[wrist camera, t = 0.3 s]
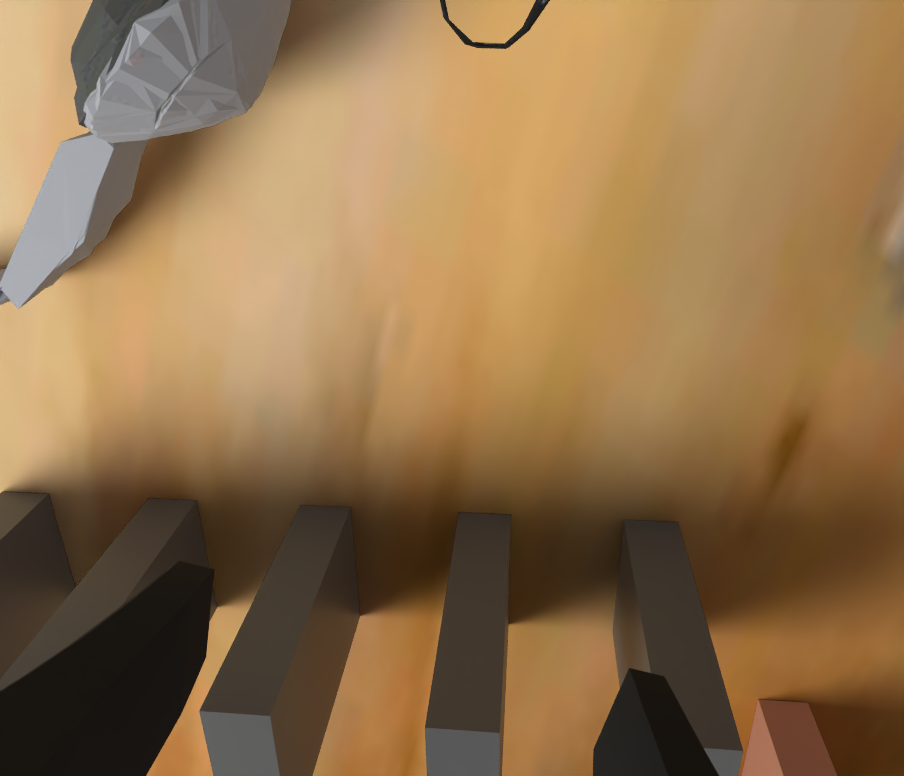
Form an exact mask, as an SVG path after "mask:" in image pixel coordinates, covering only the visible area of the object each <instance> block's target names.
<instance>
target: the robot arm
mask: <svg viewBox="0 0 904 776" xmlns="http://www.w3.org/2000/svg"><path fill="white" fill-rule="evenodd" d="M213 578H214V569H212V568H207V567H203V566H199V565H195V564H191V563H186V562H182V561H178V562H176V563H175V564H173V565H171V566H170V567H169V568H168V569H167V570H165V571H164V572H163V573H162V574H161V575H159V576H158V577H157V578H156V579H154V580H153V581H152V582H151V583H150V584H148V585H147V586H146V587H145V588H143V589H142V590H141V591H140V592H138V593H137V594H136V595H135V596H134V597H132V598H131V599H130V600H128V601H127V602H126V603H125V604H123V605H122V606H121V607H119V608H118V609H117V610H116V611H114V612H113V613H112V614H110V615H109V616H108V617H106V618H105V619H104V620H102V621H101V622H100V623H98V624H97V625H96V626H94V627H93V628H92V629H90V630H89V631H88V632H86V633H85V634H84V635H82V636H81V637H80V638H78V639H77V640H75V641H74V642H73V643H71V644H70V645H68V646H67V647H66V648H64V649H63V650H61V651H60V652H58V653H57V654H55V655H54V656H52V657H51V658H49V659H48V660H46V661H45V662H43V663H42V664H40V665H39V666H37V667H36V668H34V669H33V670H31V671H30V672H28V673H27V674H26V675H24V676H22V677H21V678H19V679H18V680H16V681H15V682H13V683H11V684H10V685H8V686H7V687H5V688H3V689H2V690H0V776H146V775H147V773H148V771H149V769H150V768H151V766H152V764H153V763H154V761H155V759H156V757H157V756H158V754H159V752H160V750H161V749H162V747H163V745H164V743H165V742H166V740H167V738H168V736H169V735H170V733H171V731H172V729H173V728H174V726H175V724H176V722H177V720H178V719H179V717H180V715H181V713H182V711H183V709H184V706H185V704H186V702H187V700H188V697H189V695H190V693H191V691H192V688H193V686H194V684H195V681H196V679H197V677H198V674H199V672H200V670H201V667H202V665H203V663H204V660H205V658H206V651H207V641H208V630H209V620H210V609H211V599H212V588H213ZM593 776H719V774H718V773H717V771H716V769H715V767H714V766H713V764H712V762H711V760H710V759H709V757H708V755H707V753H706V752H705V750H704V748H703V746H702V744H701V742H700V741H699V739H698V737H697V735H696V733H695V732H694V730H693V728H692V726H691V724H690V722H689V721H688V719H687V717H686V715H685V713H684V711H683V709H682V707H681V706H680V704H679V702H678V700H677V698H676V696H675V694H674V693H673V691H672V689H671V687H670V685H669V684H668V682H667V680H666V678H665V677H664V676H661V675H657V674H653V673H649V672H645V671H640V670H636V669H632V668H629V669H628V671H627V674H626V676H625V678H624V681H623V683H622V685H621V687H620V690H619V692H618V694H617V697H616V699H615V701H614V704H613V706H612V708H611V710H610V713H609V715H608V717H607V720H606V722H605V724H604V726H603V729H602V731H601V733H600V736H599V738H598V740H597V743H596V745H595V747H594V755H593Z"/></svg>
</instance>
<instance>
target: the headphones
mask: <svg viewBox="0 0 904 776" xmlns="http://www.w3.org/2000/svg"><path fill="white" fill-rule="evenodd" d="M549 1H550V0H536V1H535V3H534V5H533V7H532V9H531V11H530V13H529V15H528V17H527V19H526V21H525V23H524V25H523V27H522V28H521V29H520V30H519V31H518V32H517V33H516V34H515V35H514V36H513V37H512V38H510V39H509V40H508V41H507V42H506V43H505V44H502V43H478V42H472V41H471V40H470V39H469V38H468V37H467V36H466V35H465V34H464V33H463V32H461V31H460V30H459V29H458V28H457V27H456V26H455V25H454V24H453V23H452V22H451V21H450V20H449V18H448V12H447V7H446V2H445V0H440V3H441V8H442V13H443V17H444V19H445V20H446V21H447V23H448V24H449V25H450V26H451V28H452V29H453V30H454V31H455V33H456V34H457V35H458V36H459V38H460V39H461V40H462V41H463V43H464V44H466V45H469V46H473V47H476V48H497V49H506V48H508V47H510V46H511V45H512V44H513V43H515V42H516V41H517V40H518V39H519V38H521V37H522V36H523V35H524V34H525V33H527V32H528V31H529V30H530V28H531V27H532V25H533V24H534V22H535V21H536V20H537V18H538V17H539V15H540V14H541V12H542V11H543V10H544V8H545V7H546V5H547V4H548V2H549ZM290 7H291V0H93V2H92V4H91V6H90V8H89V11H88V13H87V15H86V17H85V19H84V22H83V24H82V26H81V28H80V30H79V33H78V35H77V37H76V39H75V41H74V44H73V46H72V51H71V64H72V68H73V72H74V76H75V80H76V84H77V90H76V93H75V97H74V99H75V105H76V110H77V116H78V121H79V125H82V126H84V127H86V128H88V129H89V130H90V132H88V133H86V134H83V135H80V136H77V137H74V138H71V139H69V140H66V141H63V142H61V143H60V145H59V147H58V150H57V152H56V154H55V157H54V159H53V161H52V164H51V166H50V168H49V171H48V173H47V175H46V178H45V180H44V182H43V185H42V187H41V189H40V191H39V194H38V196H37V198H36V201H35V203H34V205H33V208H32V210H31V212H30V215H29V217H28V219H27V222H26V224H25V226H24V229H23V231H22V233H21V236H20V238H19V240H18V243H17V245H16V247H15V249H14V252H13V254H12V256H11V259H10V261H9V263H8V266H7V268H6V269H0V305H1V304H4V303H6V302H9V301H12V303H13V304H14V305H15V306H16V307H17V308H18V309H19V308H21V307H22V306H23V305H24V304H26V303H27V302H28V301H29V300H31V299H32V298H33V297H35V296H36V295H37V294H38V293H40V292H41V291H42V290H43V289H45V288H47V287H49V286H51V285H53V284H54V283H55V282H56V281H57V280H58V279H59V278H60V276H61V275H62V274H63V273H64V272H65V271H67V270H68V269H69V268H70V267H72V266H73V265H75V264H76V263H78V262H79V261H81V260H82V259H84V258H86V257H87V256H89V255H90V254H91V253H92V251H93V249H94V247H95V246H96V245H98V244H99V243H100V242H101V241H102V240H104V239H105V238H106V236H107V234H108V232H109V229H110V227H111V225H112V222H113V220H114V218H115V217H116V216H117V215H118V214H119V213H120V212H121V210H122V209H123V208H124V207H125V206H126V205H127V204H128V203H129V202H130V201H131V199H132V195H133V191H134V186H135V182H136V178H137V174H138V170H139V165H140V161H141V157H142V154H143V152H144V150H145V148H146V145H147V143H148V141H149V139H152V138H157V137H162V136H170V135H174V134H181V133H184V132H192V131H195V130H198V129H201V128H204V127H209V126H214V125H216V124H218V123H220V122H222V121H224V120H226V119H229V118H232V117H235V116H238V115H240V114H243V113H246V112H247V111H248V109H249V108H251V107H252V105H253V103H254V102H255V100H256V99H257V98H258V96H259V95H260V93H261V92H262V90H263V87H264V84H265V81H266V79H267V77H268V74H269V73H270V71H271V69H272V67H273V66H274V63H275V59H276V56H277V52H278V48H279V45H280V41H281V37H282V34H283V32H284V29H285V26H286V23H287V19H288V16H289V12H290Z"/></svg>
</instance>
